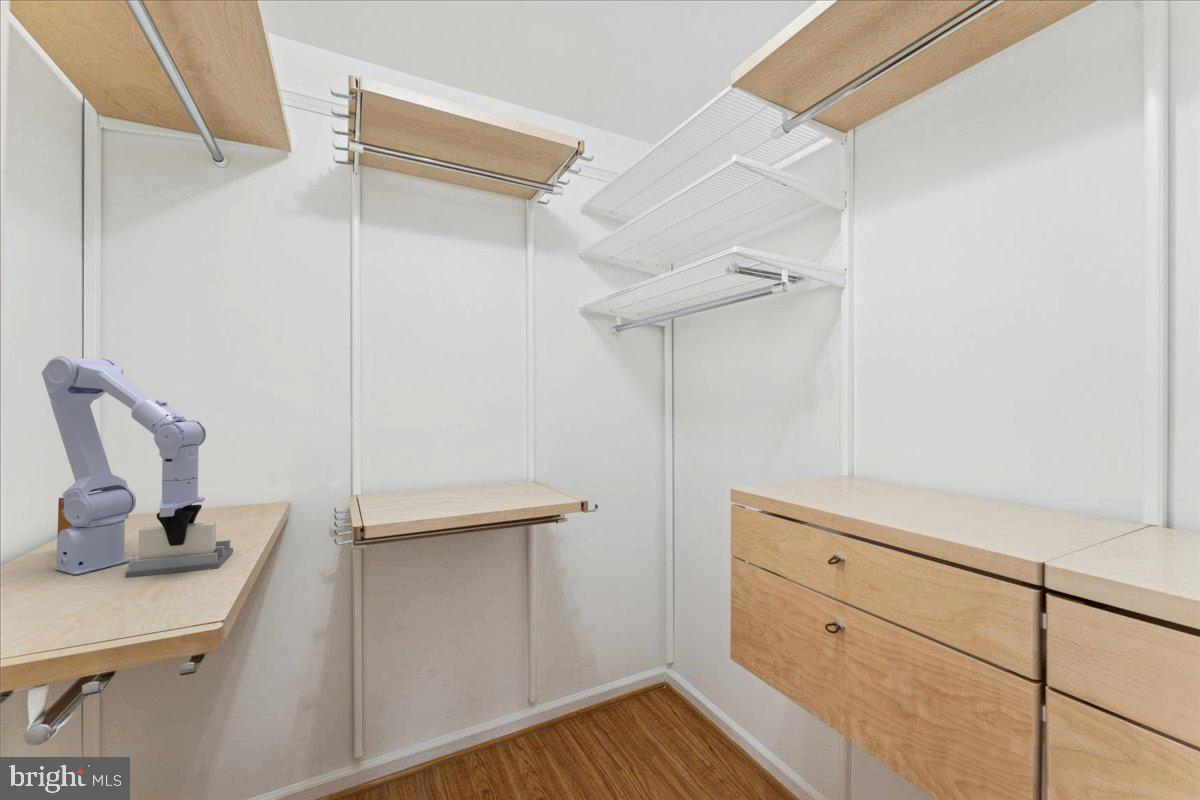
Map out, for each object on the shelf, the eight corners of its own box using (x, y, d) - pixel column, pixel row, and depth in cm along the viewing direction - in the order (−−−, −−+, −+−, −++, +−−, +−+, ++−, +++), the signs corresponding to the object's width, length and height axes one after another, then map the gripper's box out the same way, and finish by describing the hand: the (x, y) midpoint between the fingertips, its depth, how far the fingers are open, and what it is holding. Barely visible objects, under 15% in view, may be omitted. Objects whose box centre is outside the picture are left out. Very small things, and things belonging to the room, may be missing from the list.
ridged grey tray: (125, 577, 95) (125, 562, 95) (149, 559, 105) (149, 546, 105) (218, 568, 101) (218, 553, 101) (233, 551, 111) (233, 539, 111)
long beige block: (138, 559, 97) (138, 530, 97) (144, 555, 100) (144, 527, 100) (212, 552, 102) (212, 524, 102) (215, 549, 105) (216, 521, 105)
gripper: (192, 483, 96) (191, 551, 96) (214, 472, 109) (214, 531, 109) (146, 485, 93) (145, 555, 93) (175, 473, 106) (174, 534, 106)
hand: (179, 542), depth 101 cm, fingers closed on long beige block, 3 cm apart
